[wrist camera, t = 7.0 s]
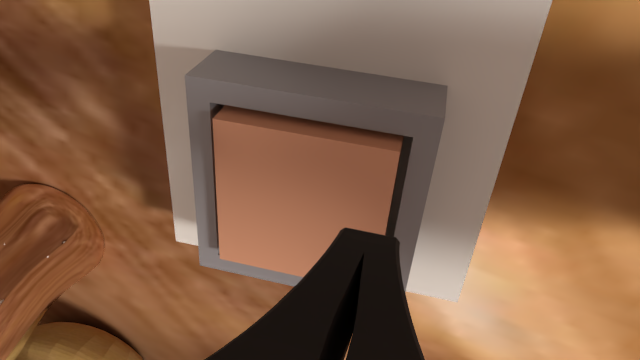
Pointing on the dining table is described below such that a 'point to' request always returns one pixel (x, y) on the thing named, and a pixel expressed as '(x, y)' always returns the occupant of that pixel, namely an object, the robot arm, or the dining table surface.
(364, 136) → the terracotta key
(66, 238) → the beer glass
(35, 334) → the pot
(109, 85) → the dining table surface
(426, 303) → the dining table surface
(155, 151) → the dining table surface
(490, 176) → the button panel
